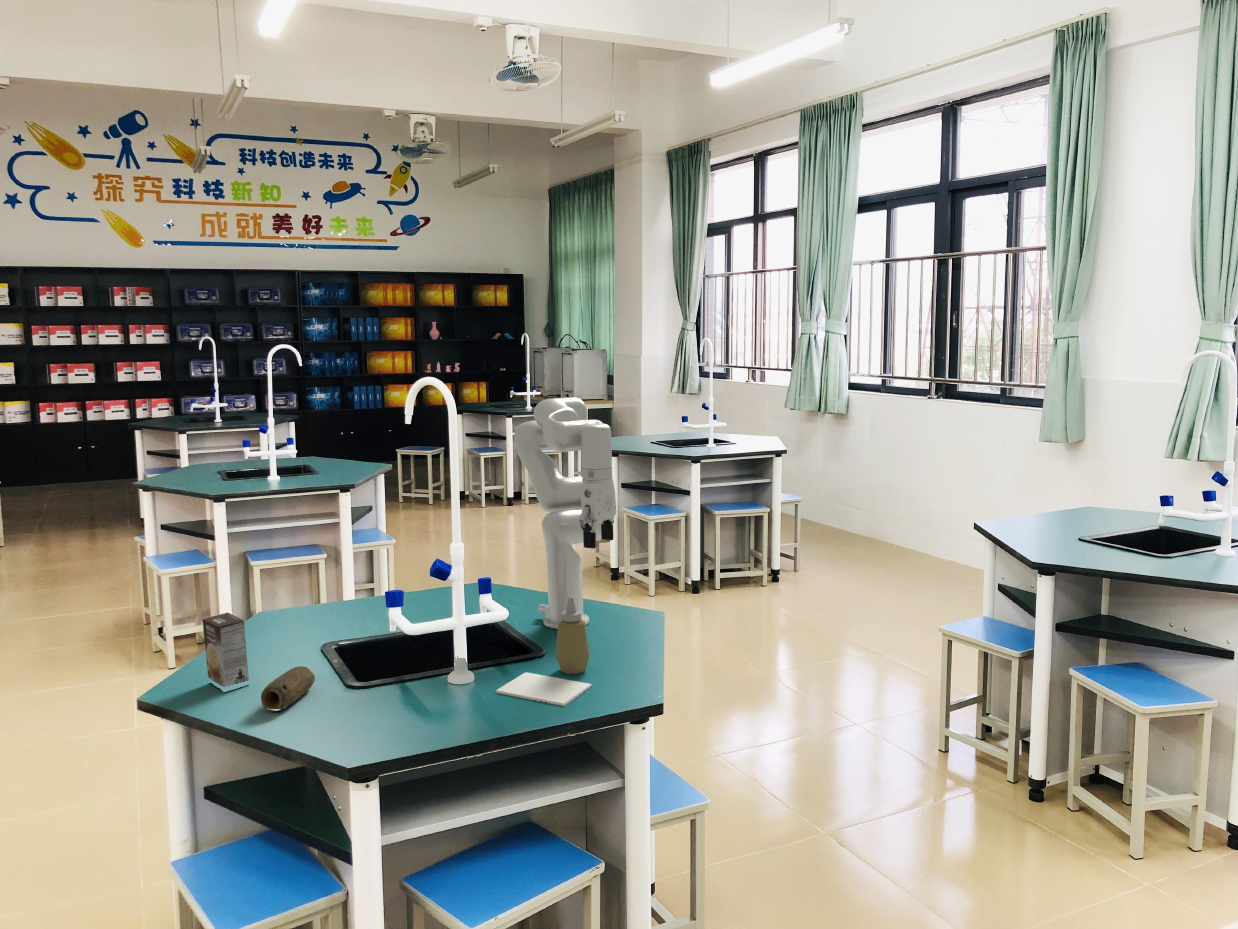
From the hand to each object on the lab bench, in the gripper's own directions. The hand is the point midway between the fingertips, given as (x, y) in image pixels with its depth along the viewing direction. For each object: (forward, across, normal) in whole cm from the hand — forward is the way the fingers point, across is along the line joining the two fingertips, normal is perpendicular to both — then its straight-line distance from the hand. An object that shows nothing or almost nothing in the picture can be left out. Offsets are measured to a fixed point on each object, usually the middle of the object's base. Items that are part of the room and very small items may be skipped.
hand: (598, 543), depth 234 cm
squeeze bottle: (+28, -14, 0) cm, 31 cm away
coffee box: (+28, -55, +70) cm, 93 cm away
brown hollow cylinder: (+28, -56, +49) cm, 80 cm away
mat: (+28, -27, 0) cm, 39 cm away
